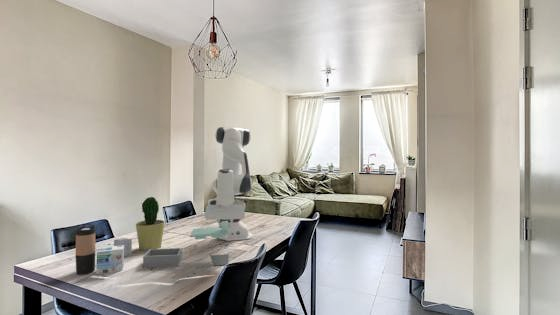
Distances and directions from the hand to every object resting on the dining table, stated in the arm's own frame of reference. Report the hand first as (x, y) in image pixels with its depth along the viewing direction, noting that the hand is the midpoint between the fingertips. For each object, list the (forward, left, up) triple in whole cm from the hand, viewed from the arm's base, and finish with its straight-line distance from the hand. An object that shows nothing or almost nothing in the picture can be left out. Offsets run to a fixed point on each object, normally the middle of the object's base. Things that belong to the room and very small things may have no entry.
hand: (224, 227), depth 155 cm
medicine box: (+53, -14, -17) cm, 58 cm away
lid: (+7, 0, -2) cm, 8 cm away
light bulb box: (+51, +8, -17) cm, 55 cm away
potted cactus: (+42, -25, -17) cm, 52 cm away
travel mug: (+62, +7, -17) cm, 65 cm away
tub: (+29, +2, -17) cm, 34 cm away
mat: (+7, 0, -17) cm, 18 cm away
